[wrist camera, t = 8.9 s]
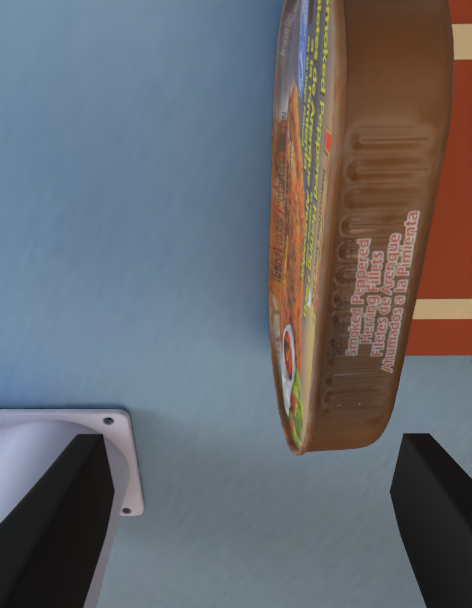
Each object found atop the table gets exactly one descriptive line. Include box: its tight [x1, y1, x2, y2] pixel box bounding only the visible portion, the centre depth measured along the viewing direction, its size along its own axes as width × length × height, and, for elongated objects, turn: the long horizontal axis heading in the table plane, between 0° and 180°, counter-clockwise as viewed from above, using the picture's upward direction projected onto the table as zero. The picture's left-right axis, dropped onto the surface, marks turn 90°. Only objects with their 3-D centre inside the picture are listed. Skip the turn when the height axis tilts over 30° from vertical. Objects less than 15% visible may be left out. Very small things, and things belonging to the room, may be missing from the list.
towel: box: [405, 0, 472, 355], centre depth 17 cm, size 7×15×1 cm, turn 1°
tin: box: [268, 0, 454, 456], centre depth 14 cm, size 15×3×8 cm, turn 1°
